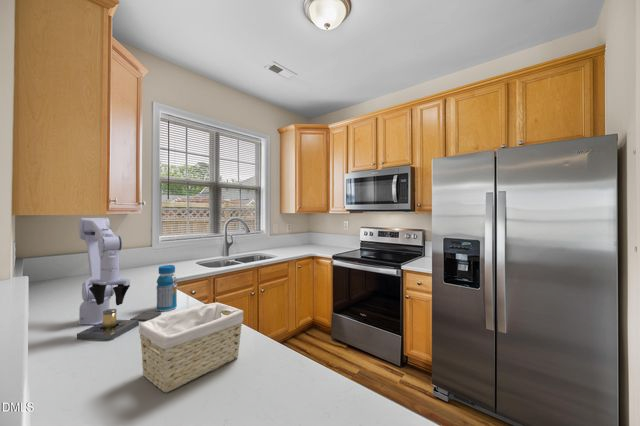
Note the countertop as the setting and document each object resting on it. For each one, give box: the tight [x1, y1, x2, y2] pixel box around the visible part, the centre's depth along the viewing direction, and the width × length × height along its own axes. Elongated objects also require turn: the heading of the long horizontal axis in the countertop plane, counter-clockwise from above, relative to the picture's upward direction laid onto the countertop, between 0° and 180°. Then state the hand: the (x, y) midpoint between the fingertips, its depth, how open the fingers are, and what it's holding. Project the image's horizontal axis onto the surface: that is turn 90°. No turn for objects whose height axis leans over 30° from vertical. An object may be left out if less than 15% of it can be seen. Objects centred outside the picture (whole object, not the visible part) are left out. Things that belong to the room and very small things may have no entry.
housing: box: [76, 319, 140, 341], centre depth 101 cm, size 13×13×2 cm
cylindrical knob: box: [103, 308, 117, 330], centre depth 101 cm, size 4×4×8 cm
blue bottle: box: [155, 264, 178, 312], centre depth 126 cm, size 8×8×20 cm
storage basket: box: [138, 302, 244, 393], centre depth 77 cm, size 24×16×15 cm
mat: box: [129, 311, 162, 322], centre depth 115 cm, size 8×8×1 cm
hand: (109, 304), depth 101 cm, fingers open, 7 cm apart
